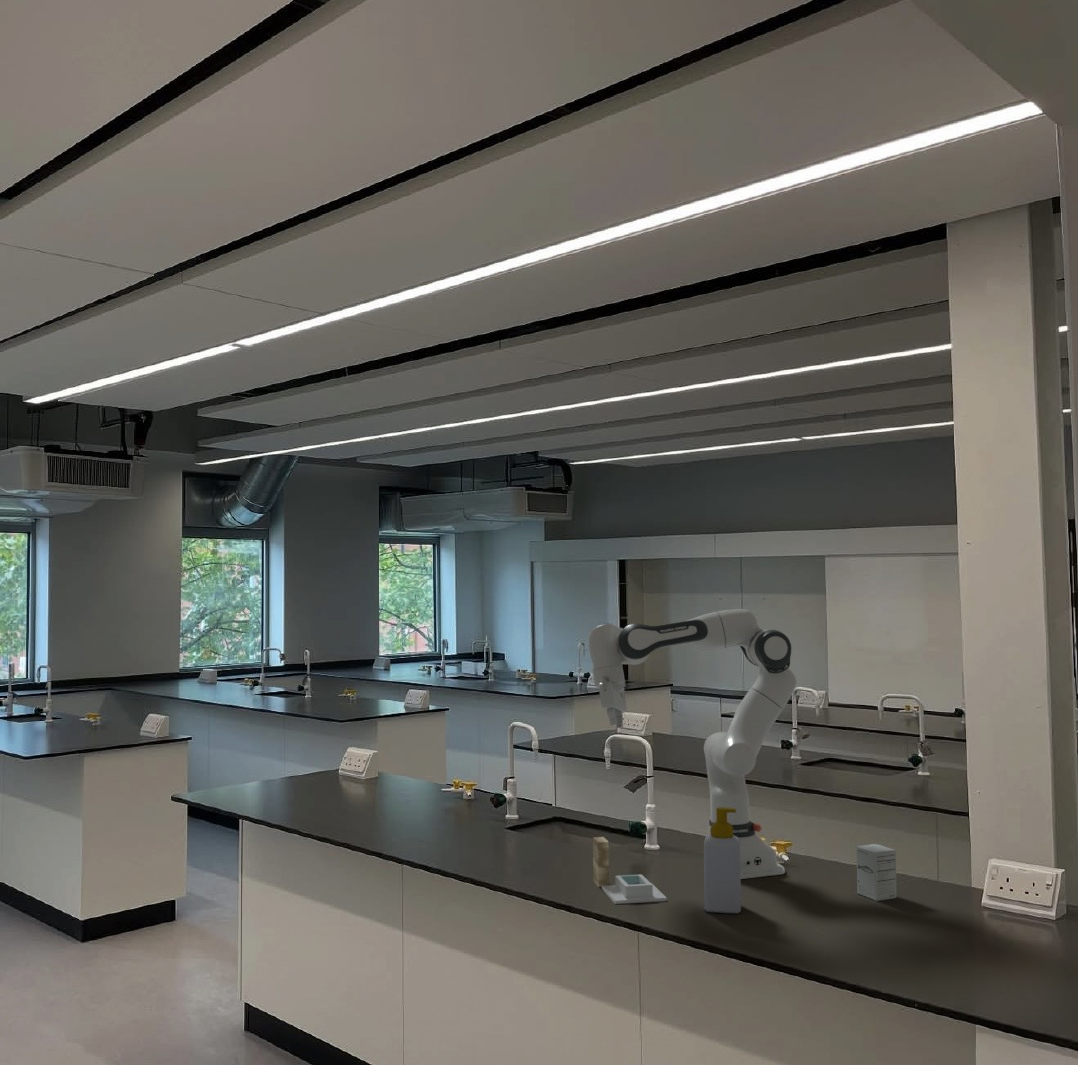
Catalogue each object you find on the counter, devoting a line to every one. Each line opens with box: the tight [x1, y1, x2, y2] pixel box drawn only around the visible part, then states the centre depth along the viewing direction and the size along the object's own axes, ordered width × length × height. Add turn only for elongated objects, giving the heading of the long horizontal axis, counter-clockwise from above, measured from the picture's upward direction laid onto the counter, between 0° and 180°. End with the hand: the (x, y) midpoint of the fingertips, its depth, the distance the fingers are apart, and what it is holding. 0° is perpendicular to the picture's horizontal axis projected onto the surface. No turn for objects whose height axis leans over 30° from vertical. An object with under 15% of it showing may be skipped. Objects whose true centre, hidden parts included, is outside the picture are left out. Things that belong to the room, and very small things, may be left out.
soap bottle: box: [703, 807, 742, 915], centre depth 261 cm, size 9×9×25 cm
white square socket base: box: [601, 873, 668, 905], centre depth 272 cm, size 14×14×4 cm
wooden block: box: [592, 836, 610, 888], centre depth 283 cm, size 3×6×12 cm, turn 10°
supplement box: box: [856, 843, 898, 902], centre depth 271 cm, size 7×7×13 cm
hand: (617, 726), depth 294 cm, fingers open, 8 cm apart
